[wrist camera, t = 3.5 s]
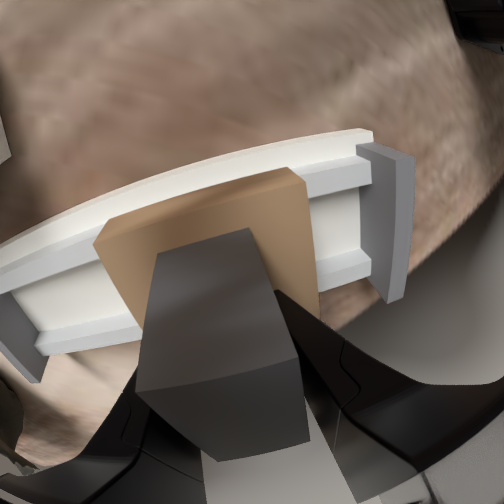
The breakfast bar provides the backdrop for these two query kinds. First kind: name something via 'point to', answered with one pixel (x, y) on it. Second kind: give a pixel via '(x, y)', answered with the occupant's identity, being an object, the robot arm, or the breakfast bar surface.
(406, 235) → the rail track
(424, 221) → the breakfast bar surface
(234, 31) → the breakfast bar surface
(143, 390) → the carriage
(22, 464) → the stone bowl
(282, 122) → the breakfast bar surface
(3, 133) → the push button box
